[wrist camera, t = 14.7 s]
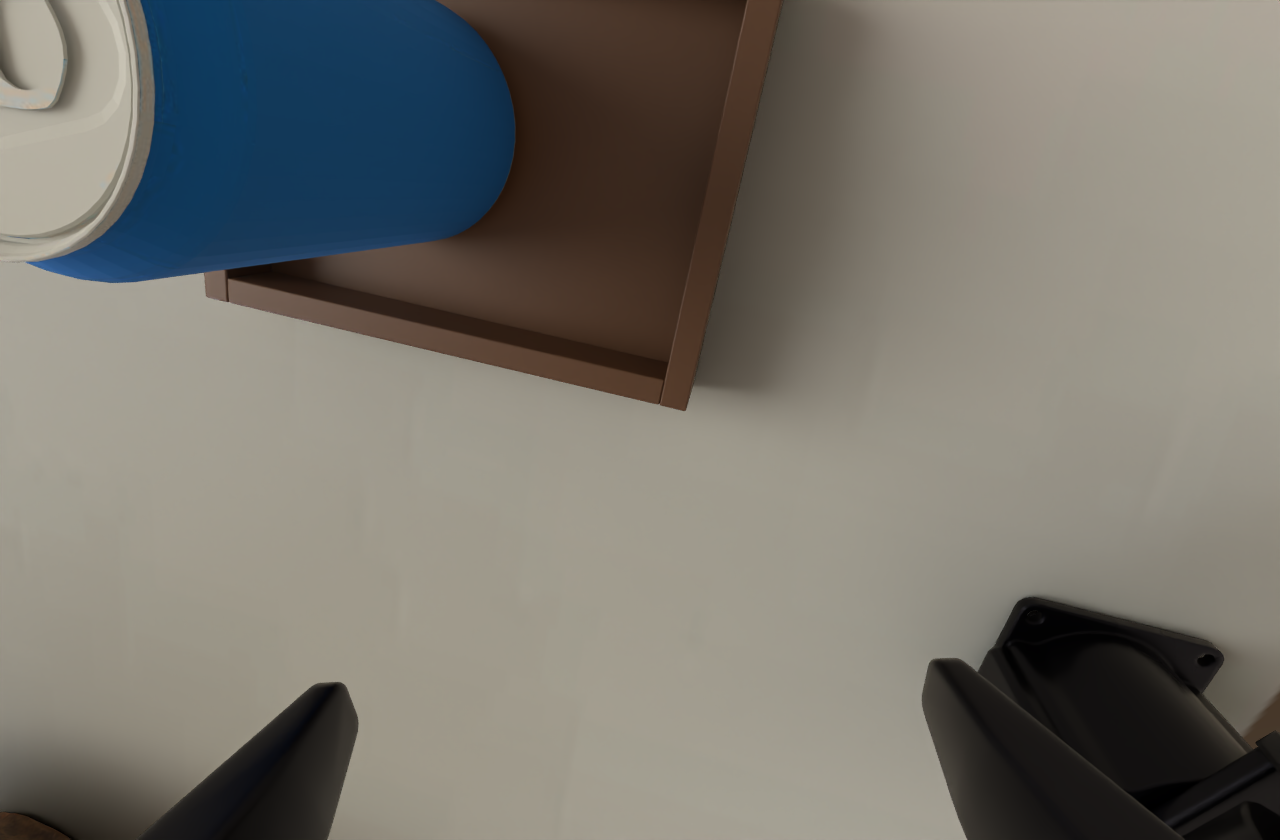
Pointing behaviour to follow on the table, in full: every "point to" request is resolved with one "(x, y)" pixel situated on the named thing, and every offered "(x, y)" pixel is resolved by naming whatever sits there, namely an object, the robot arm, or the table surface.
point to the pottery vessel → (26, 829)
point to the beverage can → (241, 132)
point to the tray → (573, 203)
